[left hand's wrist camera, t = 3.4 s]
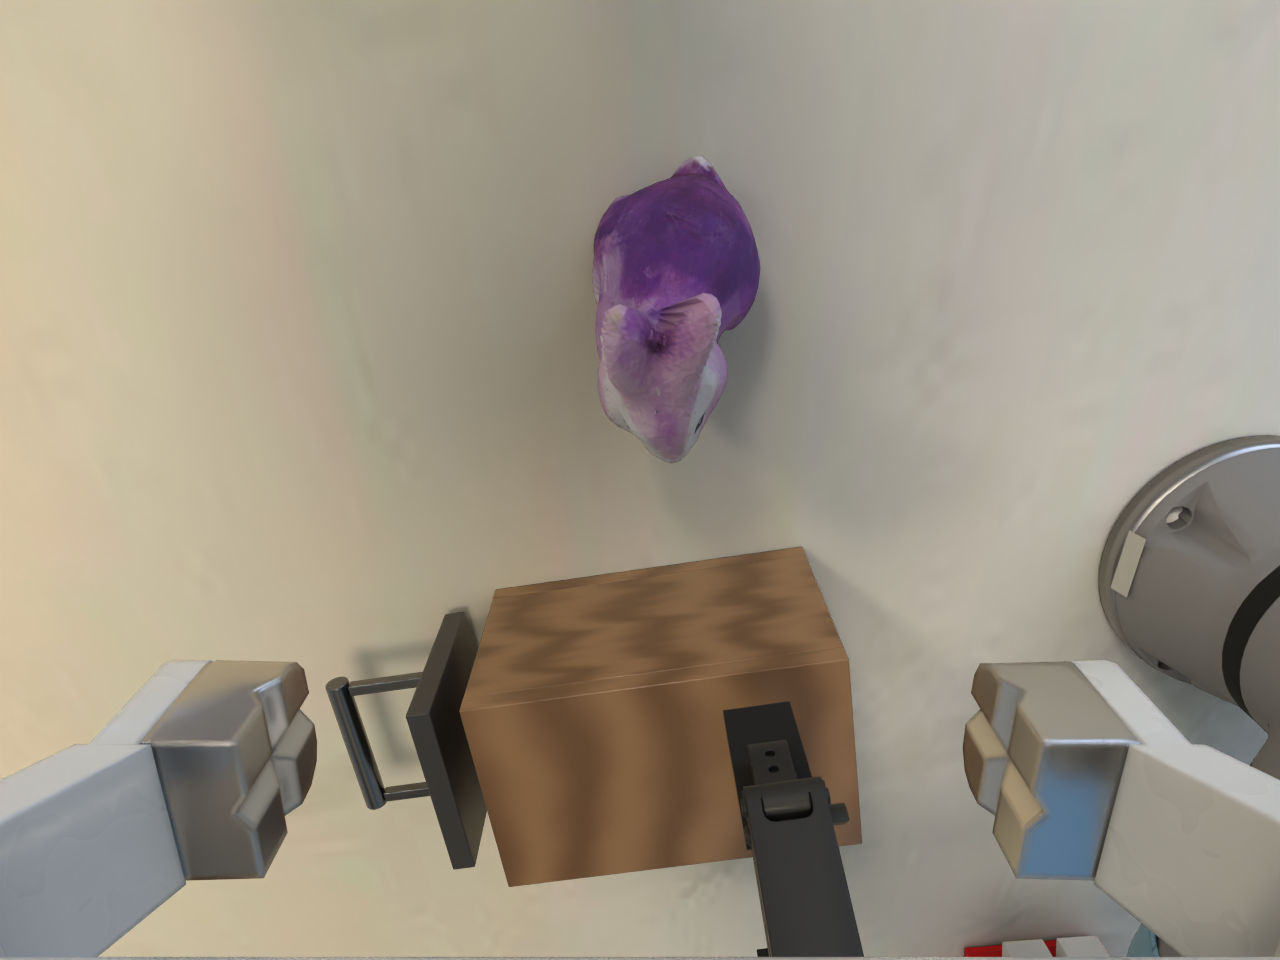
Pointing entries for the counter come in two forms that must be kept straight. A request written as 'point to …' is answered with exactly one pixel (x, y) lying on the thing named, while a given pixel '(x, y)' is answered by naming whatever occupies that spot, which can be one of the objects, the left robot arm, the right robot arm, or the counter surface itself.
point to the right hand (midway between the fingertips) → (772, 839)
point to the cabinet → (648, 711)
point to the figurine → (670, 304)
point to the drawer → (426, 739)
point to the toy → (1043, 948)
